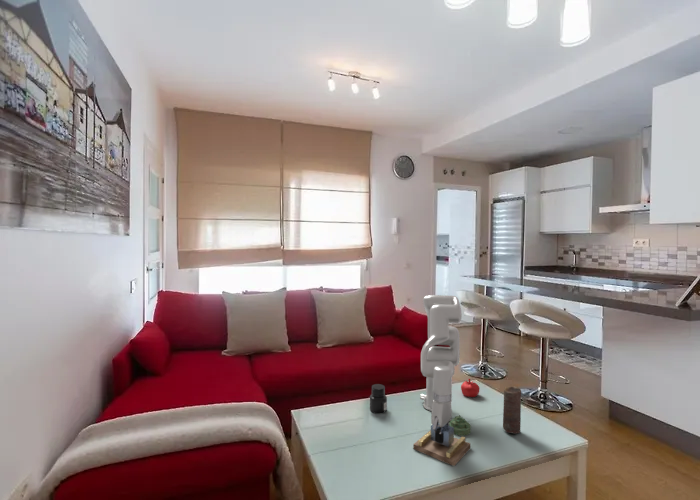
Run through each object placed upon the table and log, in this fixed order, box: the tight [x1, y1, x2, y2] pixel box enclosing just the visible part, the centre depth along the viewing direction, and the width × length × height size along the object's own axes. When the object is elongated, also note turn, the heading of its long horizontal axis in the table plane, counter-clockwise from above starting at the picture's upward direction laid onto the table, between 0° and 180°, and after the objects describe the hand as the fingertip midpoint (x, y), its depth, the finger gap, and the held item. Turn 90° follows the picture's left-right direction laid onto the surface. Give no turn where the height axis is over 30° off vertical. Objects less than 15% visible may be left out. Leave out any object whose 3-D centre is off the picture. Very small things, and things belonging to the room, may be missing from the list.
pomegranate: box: [460, 378, 481, 398], centre depth 205 cm, size 10×10×9 cm
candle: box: [502, 386, 522, 435], centre depth 165 cm, size 8×7×20 cm
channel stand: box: [412, 429, 472, 467], centre depth 152 cm, size 18×16×4 cm
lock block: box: [430, 424, 455, 447], centre depth 152 cm, size 8×5×6 cm, turn 50°
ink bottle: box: [369, 383, 388, 414], centre depth 187 cm, size 10×9×12 cm
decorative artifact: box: [449, 414, 472, 437], centre depth 167 cm, size 10×7×10 cm
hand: (442, 438), depth 152 cm, fingers closed on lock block, 5 cm apart
